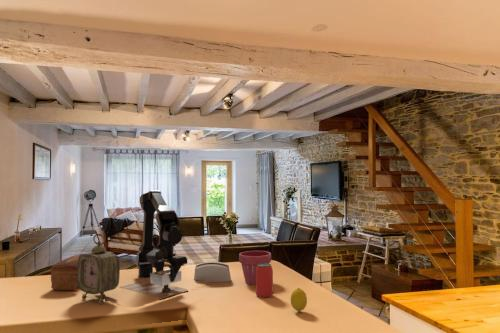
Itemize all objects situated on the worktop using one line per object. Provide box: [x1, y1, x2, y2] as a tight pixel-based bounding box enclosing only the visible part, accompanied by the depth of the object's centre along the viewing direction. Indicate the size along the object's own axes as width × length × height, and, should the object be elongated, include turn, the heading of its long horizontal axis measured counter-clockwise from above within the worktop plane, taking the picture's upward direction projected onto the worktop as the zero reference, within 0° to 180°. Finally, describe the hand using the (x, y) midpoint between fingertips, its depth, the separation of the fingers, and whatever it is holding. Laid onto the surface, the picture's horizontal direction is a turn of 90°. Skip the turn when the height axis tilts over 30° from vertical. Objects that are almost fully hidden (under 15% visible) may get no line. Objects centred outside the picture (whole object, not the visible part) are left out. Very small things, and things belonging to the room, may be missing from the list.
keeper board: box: [119, 273, 189, 301], centre depth 154 cm, size 26×14×8 cm, turn 54°
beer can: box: [255, 263, 274, 299], centre depth 146 cm, size 7×7×12 cm
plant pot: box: [238, 250, 272, 286], centre depth 167 cm, size 14×14×13 cm
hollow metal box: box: [149, 268, 182, 286], centre depth 150 cm, size 7×10×4 cm
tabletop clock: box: [77, 233, 121, 305], centre depth 143 cm, size 14×9×25 cm, turn 56°
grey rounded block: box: [193, 261, 232, 283], centre depth 169 cm, size 17×5×10 cm, turn 89°
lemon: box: [290, 287, 308, 313], centre depth 127 cm, size 6×6×8 cm
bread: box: [50, 253, 82, 291], centre depth 167 cm, size 14×28×12 cm, turn 176°
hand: (166, 280), depth 150 cm, fingers closed on hollow metal box, 7 cm apart
